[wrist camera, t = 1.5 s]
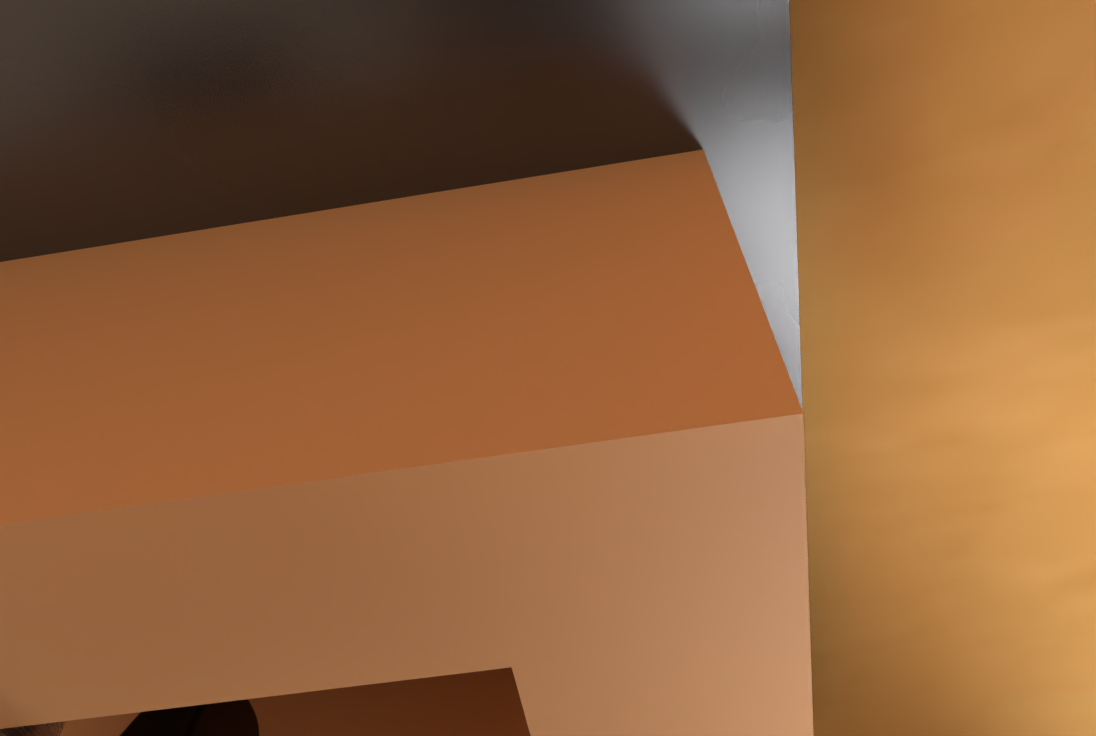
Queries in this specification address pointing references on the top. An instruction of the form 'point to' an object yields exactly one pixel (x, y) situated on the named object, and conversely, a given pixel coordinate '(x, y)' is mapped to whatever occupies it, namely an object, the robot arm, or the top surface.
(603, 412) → the c link
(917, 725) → the top surface
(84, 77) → the peg stand
